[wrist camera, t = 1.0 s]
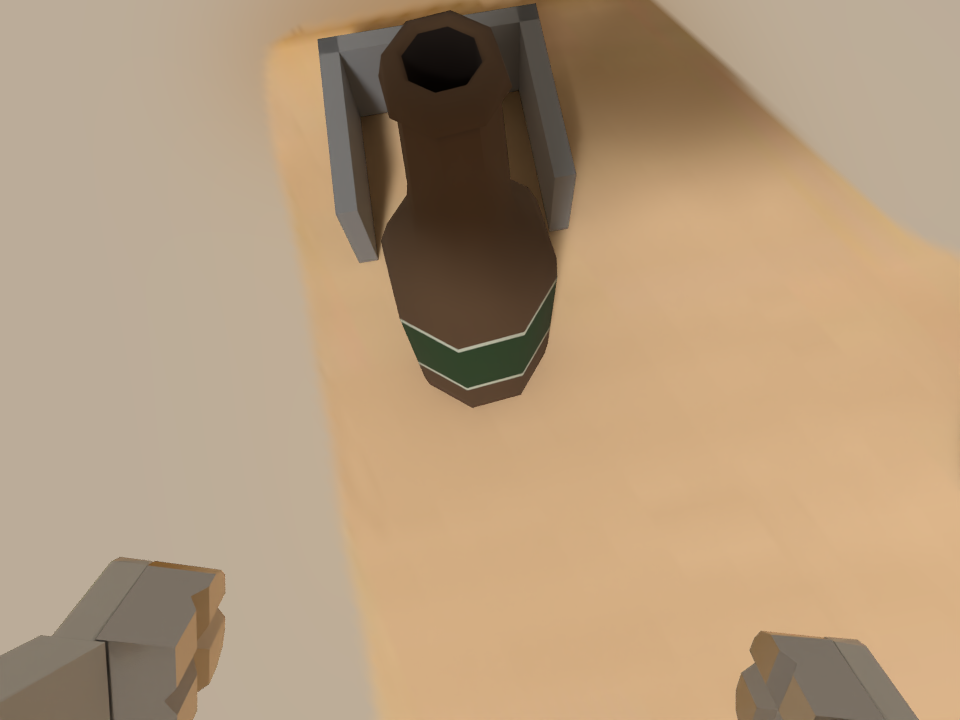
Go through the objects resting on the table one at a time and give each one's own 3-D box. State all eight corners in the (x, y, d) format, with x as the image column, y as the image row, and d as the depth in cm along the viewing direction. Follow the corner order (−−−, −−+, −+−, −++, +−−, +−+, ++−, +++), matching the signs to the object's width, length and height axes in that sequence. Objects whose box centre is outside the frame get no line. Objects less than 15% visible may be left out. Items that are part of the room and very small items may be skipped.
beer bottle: (492, 265, 43) (469, -99, 20) (573, 358, 41) (649, 69, 18) (391, 338, 41) (243, 39, 19) (468, 438, 39) (407, 237, 17)
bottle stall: (533, 73, 47) (535, 3, 41) (568, 228, 43) (576, 174, 38) (341, 105, 47) (317, 39, 41) (359, 262, 43) (335, 214, 37)
